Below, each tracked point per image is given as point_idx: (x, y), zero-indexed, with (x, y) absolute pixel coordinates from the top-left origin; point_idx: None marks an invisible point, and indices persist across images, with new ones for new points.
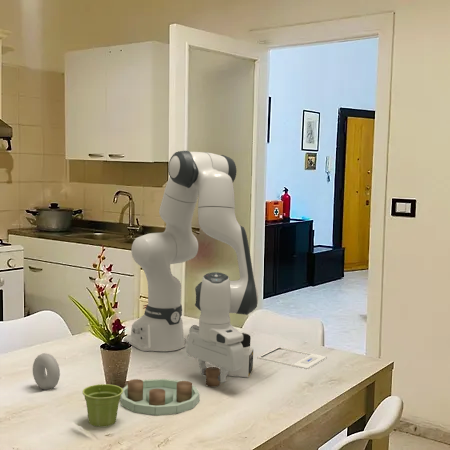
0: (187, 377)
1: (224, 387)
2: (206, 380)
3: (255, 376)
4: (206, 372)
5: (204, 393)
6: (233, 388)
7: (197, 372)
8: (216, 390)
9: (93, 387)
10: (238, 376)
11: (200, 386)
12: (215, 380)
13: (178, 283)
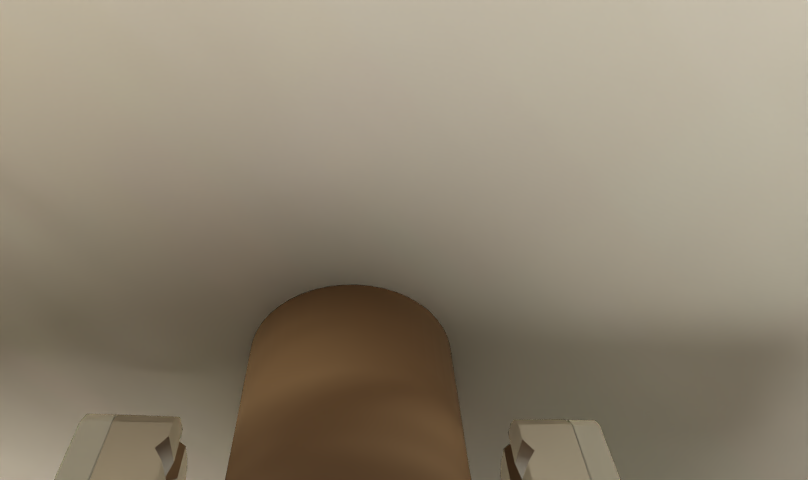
0: (802, 309)
1: (150, 386)
2: (387, 341)
3: None
4: (407, 461)
5: (87, 4)
6: (53, 430)
7: (764, 472)
8: (107, 250)
9: None
10: None
11: (413, 199)
12: (240, 406)
13: None
